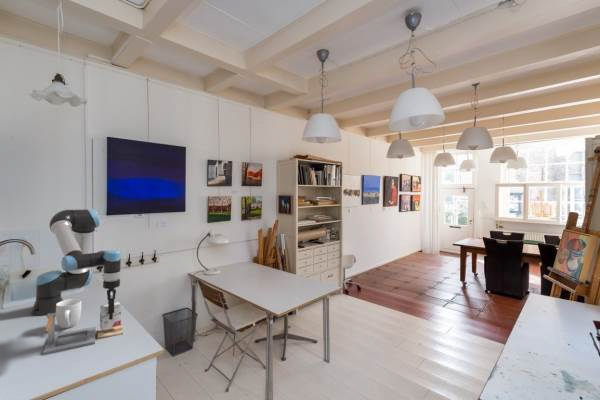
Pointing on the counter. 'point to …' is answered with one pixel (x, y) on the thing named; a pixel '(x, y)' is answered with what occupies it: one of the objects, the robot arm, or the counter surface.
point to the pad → (110, 332)
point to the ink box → (105, 316)
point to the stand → (54, 337)
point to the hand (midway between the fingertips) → (110, 322)
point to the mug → (68, 312)
